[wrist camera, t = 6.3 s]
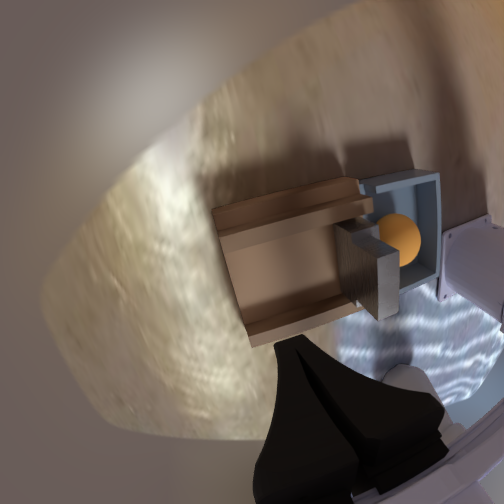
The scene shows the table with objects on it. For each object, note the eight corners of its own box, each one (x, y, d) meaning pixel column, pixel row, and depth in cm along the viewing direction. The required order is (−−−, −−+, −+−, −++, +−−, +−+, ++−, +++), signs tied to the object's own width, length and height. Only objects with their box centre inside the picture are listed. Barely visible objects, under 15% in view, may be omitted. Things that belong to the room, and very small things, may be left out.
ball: (415, 225, 16) (360, 222, 19) (415, 279, 18) (364, 273, 20) (423, 207, 19) (376, 206, 21) (423, 255, 20) (380, 251, 23)
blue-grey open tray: (415, 168, 21) (439, 172, 18) (418, 264, 24) (439, 276, 21) (347, 182, 20) (369, 187, 17) (358, 288, 23) (377, 304, 20)
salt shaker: (370, 377, 28) (431, 460, 16) (411, 348, 28) (479, 420, 16) (379, 400, 30) (429, 473, 18) (415, 374, 30) (471, 439, 18)
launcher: (344, 176, 20) (370, 181, 16) (357, 293, 23) (378, 313, 20) (211, 209, 19) (214, 220, 15) (246, 330, 22) (254, 358, 19)
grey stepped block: (358, 215, 18) (406, 237, 14) (363, 282, 20) (404, 317, 15) (332, 223, 18) (376, 247, 13) (340, 291, 20) (377, 329, 15)
